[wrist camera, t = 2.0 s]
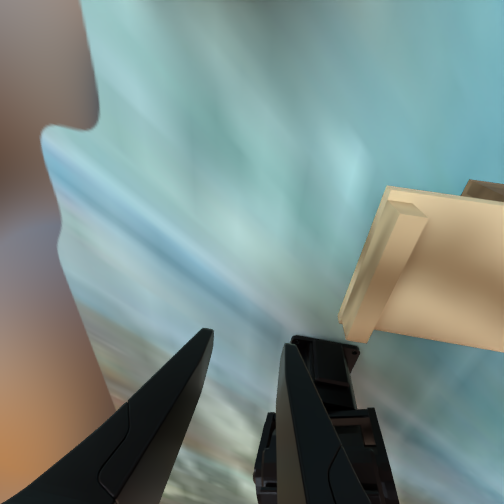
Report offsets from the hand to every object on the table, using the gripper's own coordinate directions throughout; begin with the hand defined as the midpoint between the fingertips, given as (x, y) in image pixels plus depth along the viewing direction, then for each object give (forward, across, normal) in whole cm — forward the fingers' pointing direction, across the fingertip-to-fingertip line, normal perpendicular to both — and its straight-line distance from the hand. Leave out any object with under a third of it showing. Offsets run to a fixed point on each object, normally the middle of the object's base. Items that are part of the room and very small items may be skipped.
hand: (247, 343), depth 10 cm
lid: (+7, -11, 0) cm, 13 cm away
